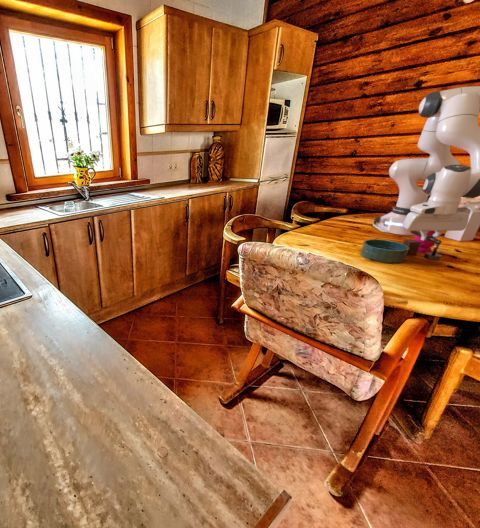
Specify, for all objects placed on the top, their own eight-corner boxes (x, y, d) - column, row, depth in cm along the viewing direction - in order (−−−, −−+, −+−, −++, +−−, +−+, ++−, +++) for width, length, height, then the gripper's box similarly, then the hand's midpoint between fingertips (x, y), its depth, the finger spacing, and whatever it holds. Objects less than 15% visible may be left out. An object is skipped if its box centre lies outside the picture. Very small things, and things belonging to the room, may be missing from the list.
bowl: (353, 251, 134) (356, 239, 132) (389, 251, 131) (393, 239, 129) (372, 263, 120) (377, 250, 118) (413, 264, 117) (418, 251, 115)
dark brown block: (399, 252, 130) (404, 239, 127) (409, 252, 129) (414, 239, 126) (405, 255, 126) (410, 242, 123) (415, 255, 125) (421, 242, 123)
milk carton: (443, 237, 145) (459, 200, 137) (456, 236, 145) (472, 200, 138) (459, 241, 138) (476, 203, 131) (472, 240, 139) (490, 202, 131)
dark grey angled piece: (400, 246, 129) (406, 229, 126) (412, 246, 128) (418, 229, 125) (429, 260, 114) (437, 242, 110) (443, 261, 113) (451, 242, 109)
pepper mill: (422, 248, 133) (438, 206, 125) (435, 253, 126) (454, 210, 118) (405, 248, 134) (420, 207, 126) (418, 253, 127) (435, 210, 119)
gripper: (464, 205, 113) (450, 237, 118) (406, 206, 116) (395, 237, 122) (479, 209, 107) (464, 242, 113) (417, 210, 111) (405, 242, 116)
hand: (427, 240), depth 117 cm, fingers closed on dark grey angled piece
